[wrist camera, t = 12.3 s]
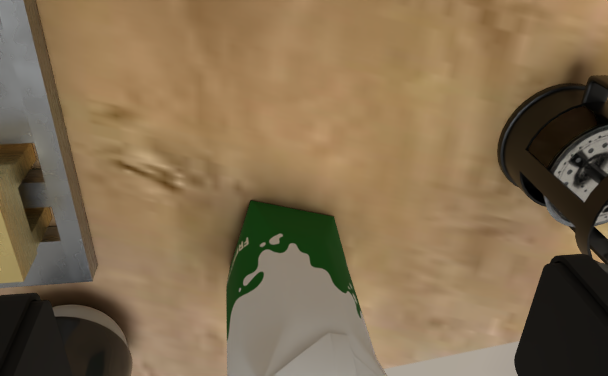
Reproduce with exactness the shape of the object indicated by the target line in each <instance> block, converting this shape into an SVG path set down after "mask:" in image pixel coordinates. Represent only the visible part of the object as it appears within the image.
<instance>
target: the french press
mask: <svg viewBox="0 0 608 376" xmlns="http://www.w3.org/2000/svg"><path fill="white" fill-rule="evenodd" d="M607 97H608V76H591V77H589V79H588V82H587V85H586V86H585V85H582V84H562V85H557V86H554V87H550V88H547V89H545V90H543V91H541V92H539V93H537V94H535V95H534V96H532V97H531V98H530V99H528V100H527V101H525V102H524V103H523V104H522V105H521V106H520V107H519V108H518V109H517V110H516V111H515V112H514V114H513V115H512V116H511V117H510V119H509V120H508V122H507V124H506V125H505V127H504V129H503V131H502V134H501V137H500V140H499V145H498V161H499V164H500V167H501V170H502V172H503V173H504V175H505V176H506V178H507V179H508V180H509V181H510V182H512V183H513V184H514V185H515V186H517V187H519V188H520V189H521V190H522V191H523V192H524V193H525V194H526V195H527V196H528V197H529V198H530V199H531V200H533V201H534V202H536V203H538V204H540V205H542V206H545V207H547V210H548V211H549V213H550V214H551V216H552V217H553V218H554V219H556V220H557V221H558V222H560V223H562V224H564V225H567V226H569V227H570V228H571V229H572V230H573V231H574V232H575V238H576V242H577V246H578V248H579V250H580V251H581V253H582V254H586V255H589V256H590V257H591V258H592V255H591V251H590V248H591V249H592V250H593V252H594V253H595V254H596V255H597V256H598V257H599V258H600V259H601V260H602V261H603V262H604V263H605V264H604V263H600V262H597V261H595V260H594V261H595V262H596V263H597V264H598V265H599V266H600V267H601V268H602V269H603V270H604V271H605V272H606V273H607V274H608V239H607V238H606V237H605V236H604V235H603V234H601V233H600V232H599V231H598V230H597V229H596V228H595V227H594V226H597V225H600V224H604V223H607V222H608V100H607ZM581 106H585V107H586V108H588V109H589V110H591V111H593V113H594V115H595V117H596V120H597V126H595V127H592V128H590V129H588V130H586V131H584V132H582V133H581V134H579V135H578V136H576V137H575V138H573V139H572V140H571V141H570V142H569V143H567V144H566V145H565V146H564V147H563V148H562V149H561V150H560V151H559V152H558V153H557V155H556V156H555V157H554V158H553V160H552V161H551V163H550V164H549V166H548V168H547V167H545V166H544V165H543V164H542V163H541V162H540V161H539V160H538V159H537V158H536V157H534V156H533V155H532V154H531V153H530V152H529V151H528V148H529V146H530V145H531V143H532V141H533V140H534V138H535V137H536V136H537V135H538V134H539V132H540V131H541V130H542V129H543V128H544V127H545V126H546V125H547V124H549V123H550V122H551V121H552V120H554V119H555V118H557V117H558V116H560V115H561V114H563V113H565V112H567V111H569V110H572V109H574V108H578V107H581ZM592 259H593V258H592Z"/></svg>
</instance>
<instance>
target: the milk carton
mask: <svg viewBox="0 0 608 376" xmlns="http://www.w3.org/2000/svg"><path fill="white" fill-rule="evenodd" d="M227 376H387V375H386V373H385V371H384V370H383V368H382V366H381V365H380V363H379V362H378V360H377V358H376V355H375V352H374V349H373V346H372V343H371V340H370V337H369V333H368V330H367V327H366V324H365V321H364V318H363V315H362V312H361V308H360V305H359V302H358V299H357V296H356V293H355V290H354V286H353V283H352V280H351V277H350V274H349V270H348V267H347V263H346V259H345V256H344V252H343V248H342V245H341V241H340V237H339V234H338V230H337V226H336V223H335V219H334V217H333V216H328V215H322V214H317V213H312V212H307V211H302V210H297V209H292V208H287V207H282V206H277V205H272V204H266V203H261V202H256V201H250V204H249V207H248V211H247V214H246V217H245V220H244V224H243V227H242V230H241V233H240V236H239V240H238V243H237V246H236V249H235V253H234V256H233V259H232V262H231V266H230V270H229V275H228V281H227Z"/></svg>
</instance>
